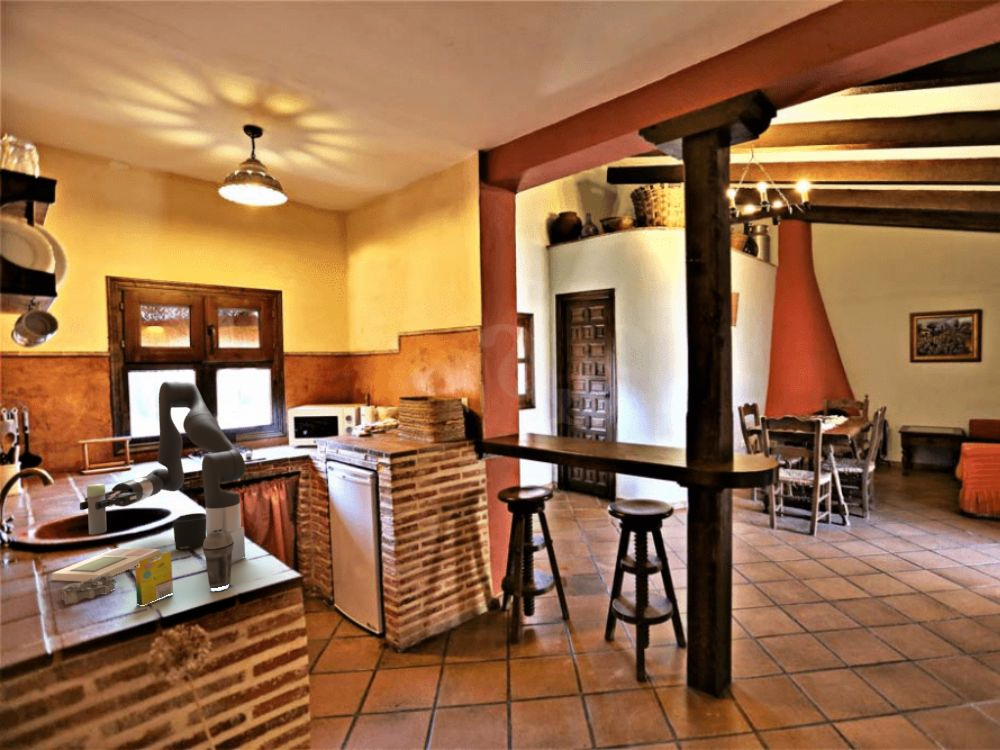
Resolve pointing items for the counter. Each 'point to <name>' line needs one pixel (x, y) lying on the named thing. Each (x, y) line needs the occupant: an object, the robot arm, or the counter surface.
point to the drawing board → (105, 564)
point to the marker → (95, 516)
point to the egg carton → (88, 588)
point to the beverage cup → (218, 556)
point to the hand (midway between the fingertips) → (89, 506)
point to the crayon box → (154, 578)
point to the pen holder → (190, 531)
